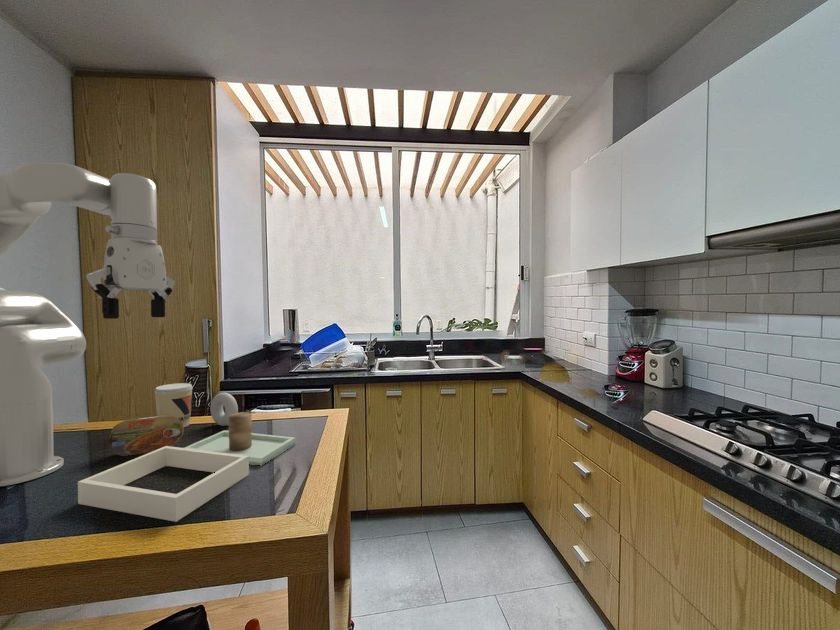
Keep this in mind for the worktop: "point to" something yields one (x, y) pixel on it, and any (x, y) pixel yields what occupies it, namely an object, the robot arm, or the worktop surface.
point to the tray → (258, 452)
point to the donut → (218, 410)
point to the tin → (144, 435)
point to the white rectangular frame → (156, 504)
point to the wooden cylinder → (240, 431)
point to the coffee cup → (174, 401)
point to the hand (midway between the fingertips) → (136, 317)
